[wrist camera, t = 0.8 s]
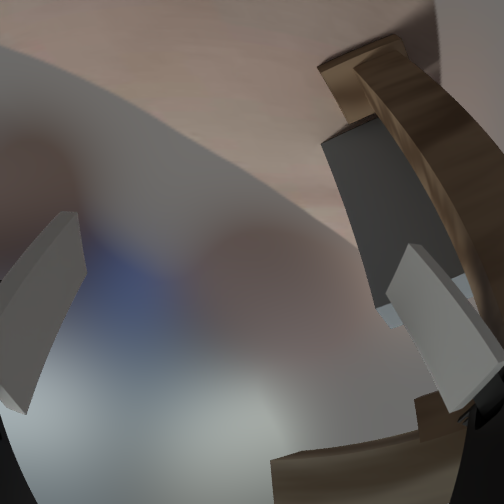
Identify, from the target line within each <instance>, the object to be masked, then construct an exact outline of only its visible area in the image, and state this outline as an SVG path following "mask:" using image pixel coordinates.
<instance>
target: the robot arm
mask: <svg viewBox="0 0 504 504" xmlns="http://www.w3.org/2000/svg"><path fill="white" fill-rule="evenodd" d="M86 274H87V270H86V265H85V259H84V253H83V248H82V242H81V235H80V228H79V221H78V213H77V212H62V211H61V212H60V213H59V214H58V215H57V216H56V217H55V218H54V219H53V220H52V221H51V222H50V224H48V225H47V227H46V228H45V229H44V230H43V231H42V232H41V233H40V234H39V235H38V237H37V238H36V239H35V240H34V241H33V242H32V244H31V245H30V246H29V247H28V248H27V250H26V251H25V252H24V253H23V254H22V256H21V257H20V258H19V259H18V261H17V262H16V263H15V264H14V266H13V267H12V268H11V269H10V271H9V272H8V273H7V275H6V276H5V277H4V279H3V280H0V400H1V402H3V404H4V405H5V406H6V407H7V408H9V409H11V410H14V411H16V412H19V413H22V414H25V415H26V414H27V411H28V408H29V405H30V402H31V399H32V396H33V393H34V391H35V388H36V385H37V382H38V379H39V377H40V374H41V372H42V369H43V366H44V364H45V361H46V359H47V356H48V354H49V352H50V349H51V347H52V345H53V342H54V340H55V337H56V335H57V333H58V331H59V329H60V326H61V324H62V322H63V320H64V318H65V316H66V314H67V312H68V310H69V307H70V305H71V303H72V301H73V299H74V297H75V295H76V293H77V292H78V290H79V288H80V286H81V283H82V282H83V280H84V278H85V276H86ZM385 294H386V295H387V297H388V299H389V300H390V302H391V304H392V305H393V307H394V309H395V310H396V312H397V314H398V316H399V317H400V319H401V321H402V323H403V324H404V326H405V328H406V329H407V331H408V333H409V335H410V337H411V339H412V340H413V342H414V344H415V346H416V347H417V349H418V351H419V353H420V355H421V357H422V359H423V361H424V363H425V364H426V367H427V368H428V370H429V372H430V374H431V376H432V378H433V380H434V382H435V384H436V386H437V388H438V390H439V392H440V395H441V397H442V399H443V401H444V403H445V405H446V407H447V409H448V412H449V413H452V412H454V411H457V410H460V409H462V408H463V407H464V406H465V405H467V404H468V403H469V402H470V401H471V400H472V399H473V400H474V402H475V404H474V405H473V406H471V407H470V408H469V409H468V410H467V411H466V412H465V413H464V414H463V415H462V416H460V417H459V419H458V421H457V422H458V423H460V422H461V421H462V420H463V419H465V418H466V417H469V418H467V419H466V420H465V421H464V422H463V423H462V425H464V426H467V431H466V437H465V443H464V448H463V453H462V457H461V462H460V466H459V470H458V474H457V478H456V482H455V486H454V489H453V493H452V496H451V499H450V502H449V504H504V349H503V348H502V346H501V345H500V343H499V342H498V340H497V339H496V338H495V336H494V335H493V333H492V332H491V330H490V329H489V328H488V326H487V325H486V323H485V322H484V321H483V319H482V318H481V317H480V315H479V314H478V313H477V311H476V310H475V309H474V307H473V306H472V305H471V303H470V302H469V301H468V300H467V298H466V297H465V296H464V294H463V293H462V292H461V291H460V289H459V288H458V287H457V286H456V284H455V283H454V282H453V281H452V280H451V278H450V277H449V276H448V275H447V274H446V272H445V271H444V270H443V269H442V268H441V267H440V265H439V264H438V263H437V262H436V261H435V260H434V259H433V257H432V256H431V255H430V254H429V253H428V252H427V251H426V250H425V249H424V247H423V246H422V245H418V244H411V243H408V246H407V248H406V250H405V252H404V255H403V257H402V259H401V261H400V264H399V266H398V268H397V270H396V272H395V275H394V277H393V279H392V281H391V283H390V285H389V287H388V289H387V291H386V293H385ZM0 504H37V502H36V500H35V498H34V496H33V494H32V492H31V490H30V488H29V486H28V484H27V482H26V480H25V478H24V476H23V474H22V471H21V469H20V467H19V465H18V462H17V460H16V458H15V455H14V453H13V450H12V448H11V445H10V443H9V439H8V437H7V434H6V431H5V428H4V425H3V422H2V419H1V416H0Z"/></svg>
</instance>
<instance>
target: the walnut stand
mask: <svg viewBox="0 0 504 504" xmlns="http://www.w3.org/2000/svg"><path fill="white" fill-rule="evenodd" d="M317 69H318V70H319V72H320V74H321V75H322V77H323V79H324V80H325V82H326V84H327V85H328V87H329V89H330V91H331V92H332V94H333V96H334V98H335V100H336V101H337V103H338V105H339V107H340V109H341V111H342V113H343V115H344V116H345V118H346V120H347V122H348V123H349V124H351V123H353V122H355V121H357V120H360V119H362V118H364V117H366V116H368V115H371V114H373V113H376V114H377V116H378V117H379V118H380V120H381V121H382V123H383V124H384V125H385V127H386V128H387V130H388V131H389V133H390V134H391V135H392V137H393V138H394V140H395V141H396V143H397V144H398V146H399V147H400V149H401V150H402V152H403V154H404V155H405V157H406V158H407V160H408V161H409V163H410V165H411V166H412V168H413V170H414V171H415V173H416V175H417V176H418V178H419V180H420V181H421V183H422V185H423V187H424V189H425V190H426V192H427V194H428V196H429V198H430V199H431V201H432V203H433V205H434V207H435V209H436V211H437V213H438V215H439V217H440V219H441V221H442V223H443V225H444V227H445V229H446V231H447V233H448V235H449V237H450V239H451V242H452V244H453V246H454V248H455V251H456V253H457V255H458V258H459V260H460V262H461V265H462V267H463V270H464V272H465V275H466V277H467V280H468V282H469V285H470V288H471V291H472V293H473V296H474V299H475V302H476V305H477V308H478V311H479V314H480V317H481V318H482V319H483V321H484V322H485V323H486V325H487V326H488V328H489V329H490V330H491V332H492V333H493V335H494V336H495V338H496V339H497V340H498V342H499V343H500V345H501V346H502V348H503V349H504V154H503V153H502V151H501V150H500V149H499V147H498V146H497V145H496V144H495V142H494V141H493V140H492V139H491V138H490V136H489V135H488V134H487V133H486V132H485V131H484V130H483V128H482V127H481V126H480V125H479V124H478V123H477V122H476V121H475V120H474V119H473V117H471V115H470V114H469V113H468V112H467V111H466V110H465V109H464V108H463V107H462V106H461V105H460V104H459V103H458V102H457V101H456V100H455V99H454V98H453V97H452V96H450V94H449V93H447V92H446V91H445V90H444V89H443V88H442V87H441V86H440V85H439V84H438V83H436V82H435V81H434V80H433V79H432V78H431V77H430V76H428V75H427V74H426V73H425V72H424V71H422V70H421V69H420V68H419V67H418V66H416V65H415V64H414V63H413V62H411V61H410V60H409V58H408V55H407V52H406V49H405V47H404V44H403V41H402V39H401V38H400V37H398V36H396V35H395V34H393V35H391V36H388V37H385V38H383V39H380V40H378V41H375V42H372V43H370V44H368V45H365V46H363V47H360V48H358V49H356V50H353V51H351V52H349V53H346V54H344V55H342V56H340V57H337V58H335V59H333V60H331V61H329V62H327V63H325V64H323V65H320V66H318V67H317ZM414 402H415V409H416V415H417V422H418V430H419V438H420V443H422V442H425V441H429V440H432V439H436V438H439V437H442V436H445V435H448V434H451V433H454V432H457V431H459V430H462V429H465V428H467V426H464V425H462V423H463V422H464V421H465V420H466V419H467V418H469V417H466V418H465V419H463V420H462V421H461V422H460V423H458V422H457V421H458V419H459V417H460V416H462V415H463V414H464V413H465V412H466V411H467V410H468V409H469V408H470V407H471V406H473V405H474V404H475V402H474V400H473V399H472V400H471V401H470V402H469V403H468V404H467V405H465V406H464V407H463V408H462V409H460V410H457V411H454V412H452V413H449V412H448V409H447V407H446V405H445V403H444V401H443V399H442V397H441V395H440V392H439V390H438V391H435V392H433V393H429V394H426V395H423V396H421V397H418V398H416V399H414Z"/></svg>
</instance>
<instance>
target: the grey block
mask: <svg viewBox="0 0 504 504" xmlns="http://www.w3.org/2000/svg"><path fill="white" fill-rule="evenodd" d="M321 146H322V149H323V151H324V153H325V156H326V158H327V161H328V163H329V166H330V169H331V171H332V174H333V176H334V179H335V182H336V184H337V187H338V190H339V192H340V195H341V198H342V201H343V203H344V206H345V209H346V212H347V215H348V218H349V221H350V224H351V227H352V230H353V233H354V236H355V239H356V242H357V245H358V249H359V252H360V255H361V258H362V261H363V265H364V268H365V272H366V275H367V279H368V282H369V286H370V289H371V293H372V297H373V301H374V305H375V309H376V310H377V311H378V313H379V314H380V315H381V316H382V318H383V319H384V321H385V322H386V323H387V325H388V326H389V327H390V329H393V328H395V327H398V326H401V325H404V324H403V323H402V321H401V319H400V317H399V316H398V314H397V312H396V310H395V309H394V307H393V305H392V304H391V302H390V300H389V299H388V297H387V295H386V294H385V293H386V291H387V289H388V287H389V285H390V283H391V281H392V279H393V277H394V275H395V272H396V270H397V268H398V266H399V264H400V261H401V259H402V257H403V255H404V252H405V250H406V248H407V246H408V243H411V244H418V245H422V246H423V247H424V249H425V250H426V251H427V252H428V253H429V254H430V255H431V256H432V257H433V259H434V260H435V261H436V262H437V263H438V264H439V265H440V267H441V268H442V269H443V270H444V271H445V272H446V274H447V275H448V276H449V277H450V278H451V280H452V281H453V282H454V283H455V284H456V286H457V287H458V288H459V289H460V291H461V292H462V293H463V294H464V296H465V297H466V298H467V299H468V298H471V297H473V293H472V291H471V288H470V285H469V282H468V280H467V277H466V275H465V272H464V270H463V267H462V265H461V262H460V260H459V258H458V255H457V253H456V251H455V248H454V246H453V244H452V242H451V239H450V237H449V235H448V233H447V231H446V229H445V227H444V225H443V223H442V221H441V219H440V217H439V215H438V213H437V211H436V209H435V207H434V205H433V203H432V201H431V199H430V198H429V196H428V194H427V192H426V190H425V189H424V187H423V185H422V183H421V181H420V180H419V178H418V176H417V175H416V173H415V171H414V170H413V168H412V166H411V165H410V163H409V161H408V160H407V158H406V157H405V155H404V154H403V152H402V150H401V149H400V147H399V146H398V144H397V143H396V141H395V140H394V138H393V137H392V135H391V134H390V133H389V131H388V130H387V128H386V127H385V125H384V124H383V123H382V121H381V120H380V118H379V117H378V118H376V119H374V120H371V121H369V122H367V123H365V124H363V125H360V126H358V127H356V128H354V129H352V130H349V131H347V132H345V133H343V134H341V135H339V136H337V137H335V138H333V139H330V140H328V141H326V142H324V143H322V144H321Z"/></svg>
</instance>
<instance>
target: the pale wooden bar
mask: <svg viewBox="0 0 504 504" xmlns="http://www.w3.org/2000/svg"><path fill="white" fill-rule="evenodd" d="M466 431H467V428H465V429H462V430H459V431H457V432H454V433H451V434H448V435H445V436H442V437H439V438H436V439H432V440H429V441H425V442H422V443H420V438H419V430H415V431H411V432H407V433H404V434H400V435H396V436H392V437H387V438H383V439H378V440H374V441H368V442H363V443H358V444H352V445H346V446H339V447H332V448H324V449H316V450H306V451H300V452H297V453H293V454H290V455H287V456H284V457H280V458H277V459H273V460H270V464H271V475H272V486H273V495H274V504H447V503H449V502H450V499H451V496H452V493H453V489H454V486H455V482H456V478H457V474H458V470H459V466H460V462H461V457H462V453H463V448H464V443H465V437H466Z"/></svg>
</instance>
